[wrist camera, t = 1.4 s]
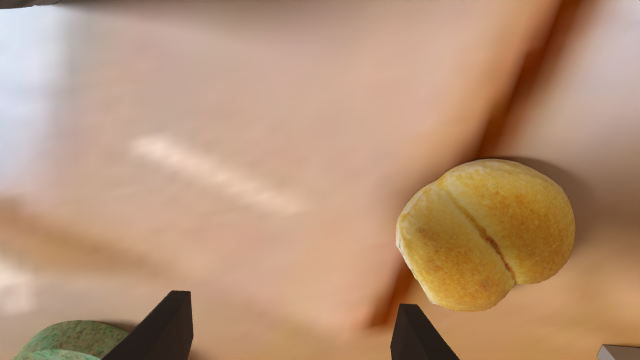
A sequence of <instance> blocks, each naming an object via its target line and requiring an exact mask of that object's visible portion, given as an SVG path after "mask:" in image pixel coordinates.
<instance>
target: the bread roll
mask: <svg viewBox="0 0 640 360" xmlns="http://www.w3.org/2000/svg"><path fill="white" fill-rule="evenodd" d="M574 239H575V218H574V213H573V210H572V207H571V204H570V202H569V200H568V198H567V196H566V194H565V192H564V191H563V190H562V188H561V187H560V186H559V185H558V184H556V183H555V182H554V181H553V180H552V179H550V178H549V177H547V176H545V175H543V174H541V173H540V172H538V171H536V170H535V169H533V168H530V167H528V166H525V165H523V164H521V163H519V162H514V161H509V160H502V159H481V160H475V161H472V162H467V163H464V164H461V165H459V166H456V167H454V168H452V169H450V170H449V171H447V172H446V173H445V174H443V175H442V176H441V177H440V178H438V179H437V180H436V181H434V182H432V183H430V184H428V185H426V186H425V187H423V188H422V189H420V190H419V191H418V192H417V193H416V194H415V195H414V196H413V197H412V198H411V199H410V200H409V202H408V203H407V204H406V205H405V207H404V209H403V211H402V212H401V214H400V216H399V217H398V220H397V223H396V246H397V247H398V249H399V250H400V252H401V254H402V255H403V257H404V259H405V261H406V263H407V265H408V267H409V268H410V269H411V271H412V273H413V275H414V277H415V278H416V279H417V280H418V281H419V283H420V285H421V287H422V288H423V290H424V291H425V293H426V295H427V297H428V298H429V300H430V301H431V303H432V304H438V305H440V306H443V307H445V308H447V309H450V310H453V311H459V312H475V311H483V310H487V309H490V308H492V307H494V306H495V305H496V304H498V303H499V302H500V301H501V300H502V299H503V298H504V297H505V296H506V295H507V294H508V292H509V291H510V290H511V289H512V288H513V287H514V285H515V284H535V283H540V282H542V281H544V280H547V279H549V278H550V277H552V276H554V275H555V274H556V273H557V272H558V271H559V270H560V269H561V268H562V267H563V266H564V264H565V263H566V262H567V260H568V259H569V257H570V255H571V252H572V249H573V245H574Z"/></svg>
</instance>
